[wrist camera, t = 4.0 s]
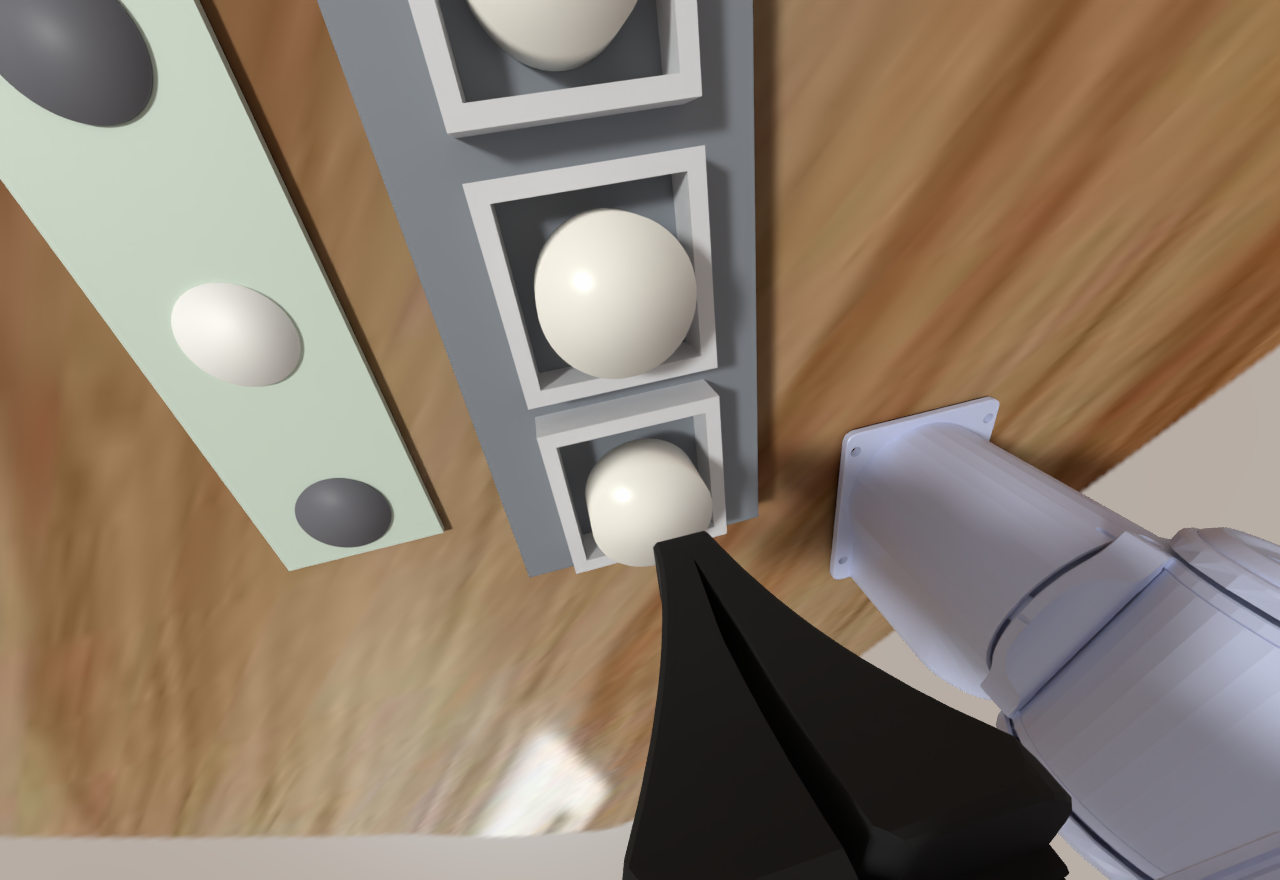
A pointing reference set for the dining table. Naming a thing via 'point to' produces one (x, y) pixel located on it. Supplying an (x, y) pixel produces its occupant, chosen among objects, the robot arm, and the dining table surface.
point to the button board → (548, 196)
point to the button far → (645, 499)
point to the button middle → (614, 293)
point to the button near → (552, 29)
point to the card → (203, 266)
